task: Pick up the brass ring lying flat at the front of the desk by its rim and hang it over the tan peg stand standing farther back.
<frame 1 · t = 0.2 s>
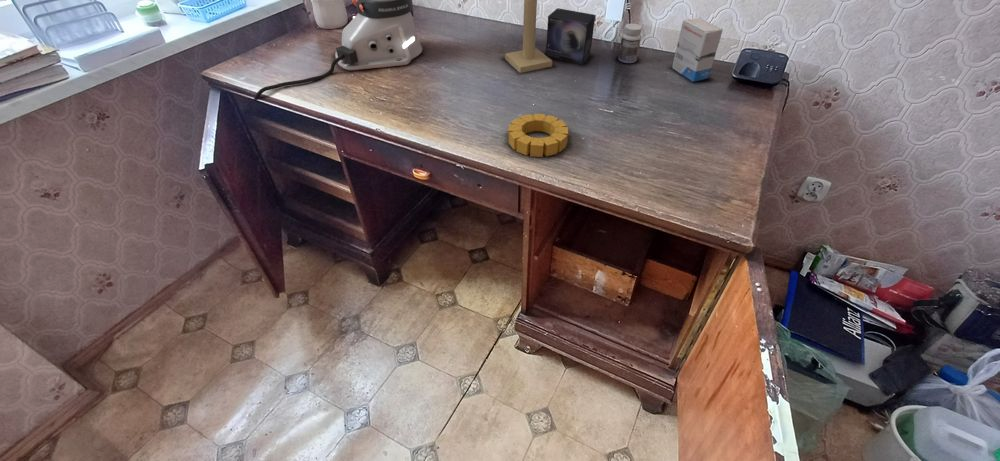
ink box: (688, 74, 114), on the table
tan peg stand: (528, 62, 119), on the table
small box: (567, 57, 122), on the table
ring: (537, 140, 93), on the table
cup: (332, 24, 139), on the table
pill bottle: (627, 60, 120), on the table
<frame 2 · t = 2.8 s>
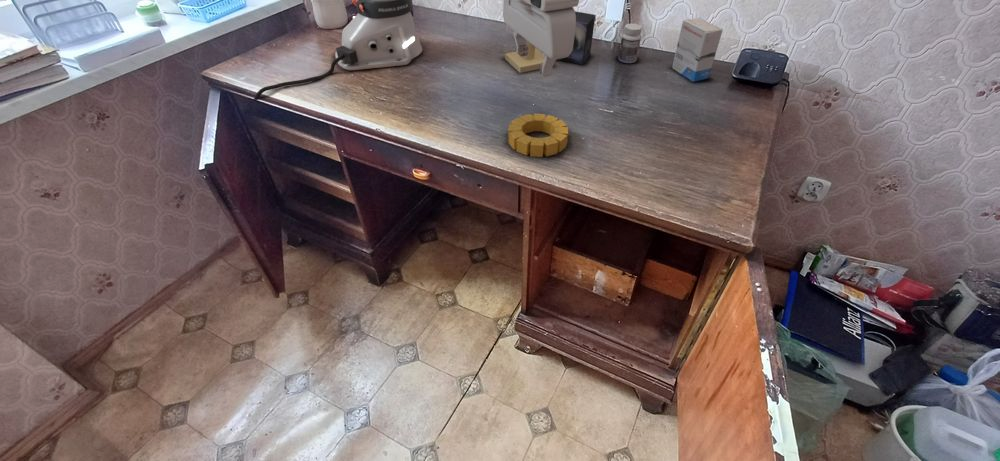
hand: (533, 64, 86), 14 cm above the table, tool pointing down, fingers open, 8 cm apart
nothing on the table moved.
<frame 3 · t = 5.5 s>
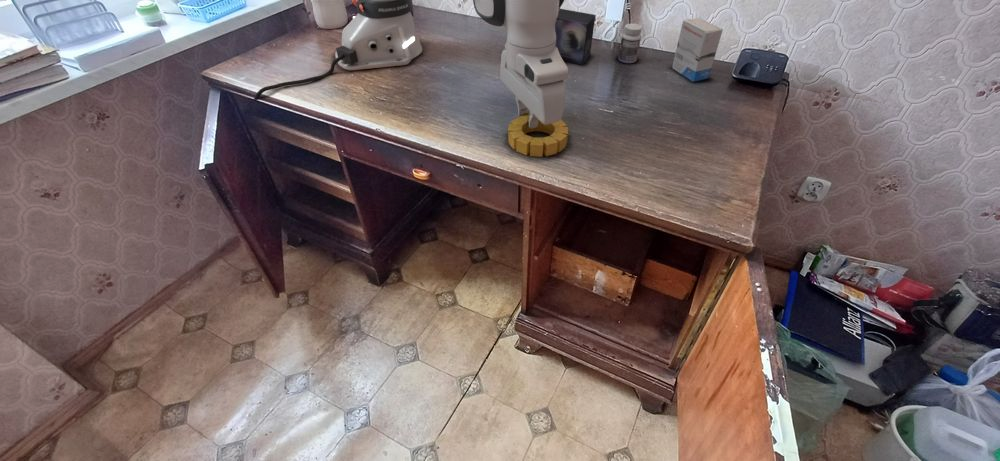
hand: (527, 121, 95), 2 cm above the table, tool pointing down, fingers closed on ring, 2 cm apart
ring: (537, 140, 93), on the table, touching gripper
everything else where it was.
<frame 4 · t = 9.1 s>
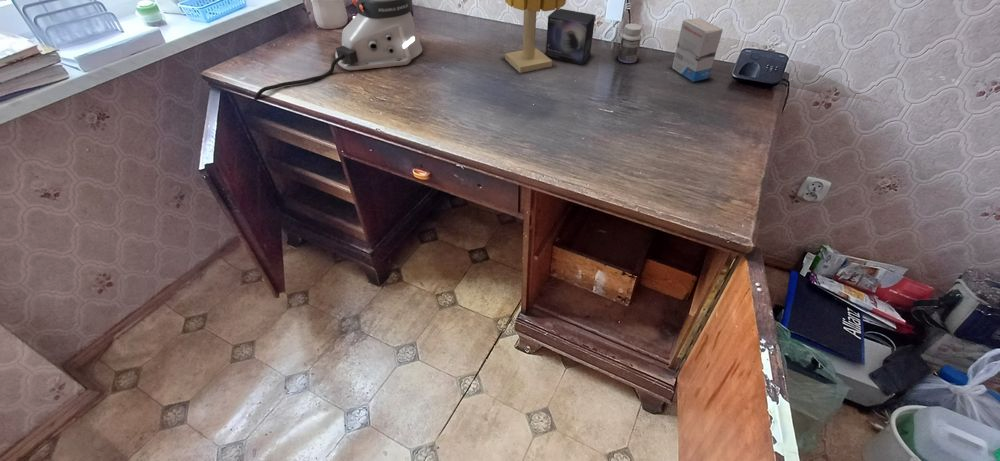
ring: (535, 1, 91), point 21 cm above the table, touching gripper
everything else where it was.
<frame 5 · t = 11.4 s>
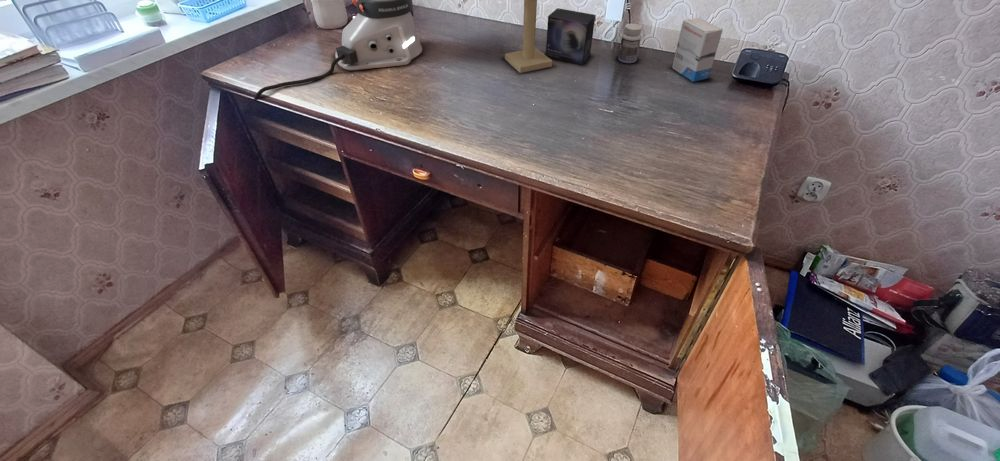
when the fingers open (14 cm above the table, at t = 13.1 s): ring drops 6 cm and tips over, resting on small box.
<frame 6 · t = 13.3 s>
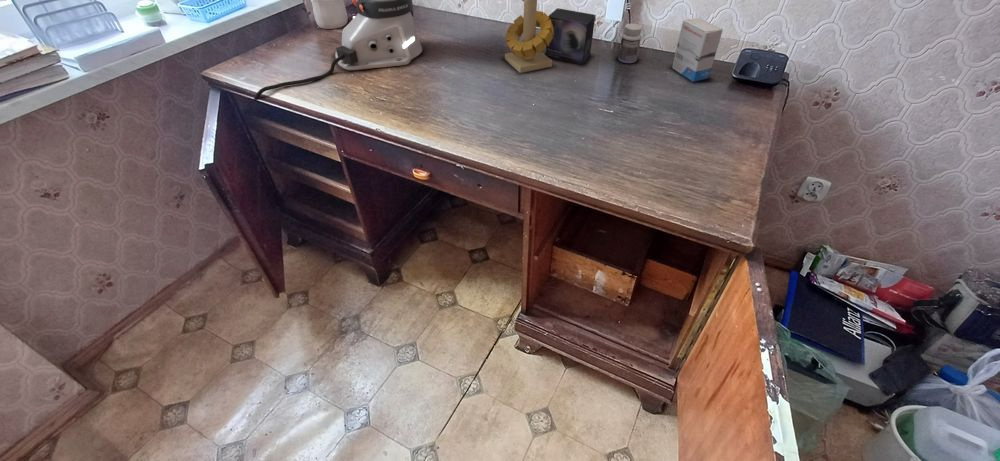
small box: (567, 57, 122), on the table, touching ring
ring: (531, 37, 115), point 6 cm above the table, tilted 34°, touching small box
everything else where it was.
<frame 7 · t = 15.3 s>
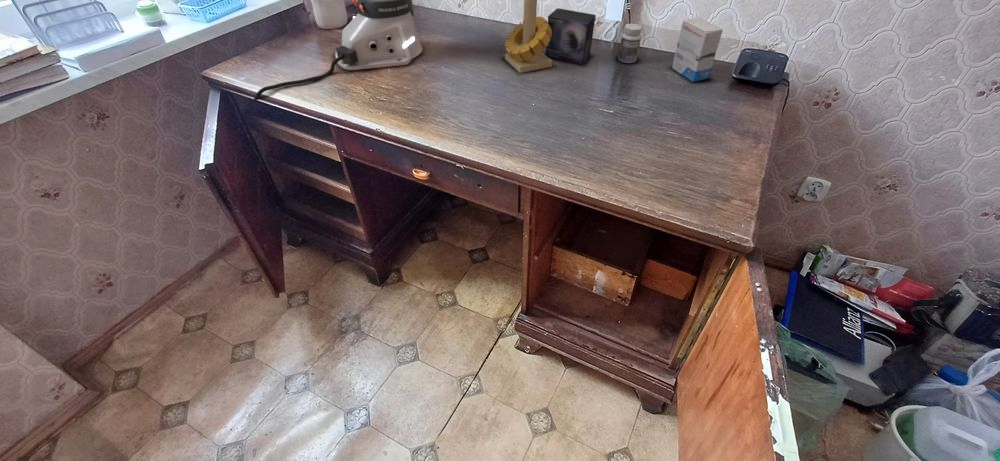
ring: (530, 42, 116), point 5 cm above the table, tilted 34°, touching tan peg stand, small box
everything else where it was.
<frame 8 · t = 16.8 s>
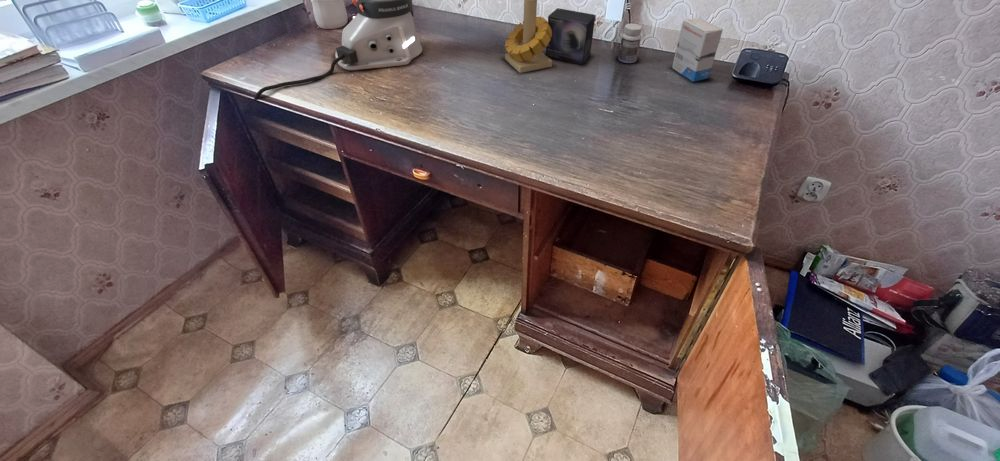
nothing on the table moved.
at the end: ring 1.0 cm from the tan peg stand (horizontally); ring point 4.8 cm above the table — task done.
